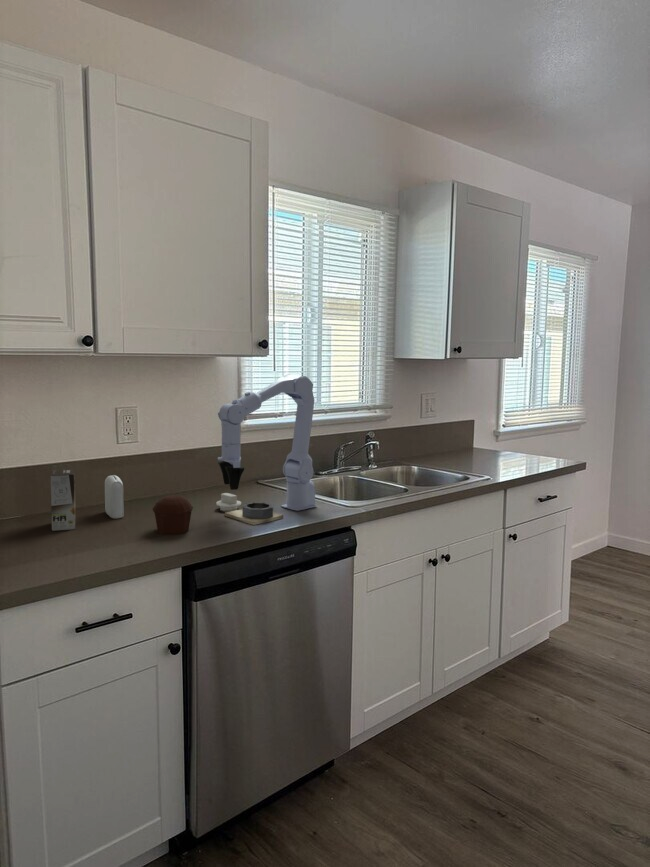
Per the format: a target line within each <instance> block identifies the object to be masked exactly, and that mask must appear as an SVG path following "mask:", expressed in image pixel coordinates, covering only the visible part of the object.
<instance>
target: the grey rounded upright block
mask: <svg viewBox="0 0 650 867" xmlns="http://www.w3.org/2000/svg"><path fill="white" fill-rule="evenodd" d="M104 502H105V503H104V506H105V508H104V510H105V514H107V515H108V516H109V518H111V519H121V518H123V517H124V515H125V514H124V483H123V481H122V479H121V478H120V477H119V476H117V475H116V474H113V475H108V476H107V477H106V478H105V480H104Z"/></svg>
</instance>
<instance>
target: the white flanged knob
mask: <svg viewBox="0 0 650 867" xmlns="http://www.w3.org/2000/svg"><path fill="white" fill-rule="evenodd" d="M215 503H216V504H215V505H216V506H217V507H219V508H220V511H222V512H224V513H226V512H231V511H236V510H238V507H240V506H242V501H240V500H238V496H237V495H235V494H233V493H228V492H224V493H220V500H217V501H216V502H215Z"/></svg>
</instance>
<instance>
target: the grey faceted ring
mask: <svg viewBox="0 0 650 867" xmlns="http://www.w3.org/2000/svg"><path fill="white" fill-rule="evenodd" d="M242 509H243V517H246V518H249V519H266V518H271V517H273V512H274V504H272V503H269V502H264V501H263V502H262V501H260V502H259V501H252V502H248V503H243V506H242Z"/></svg>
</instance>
